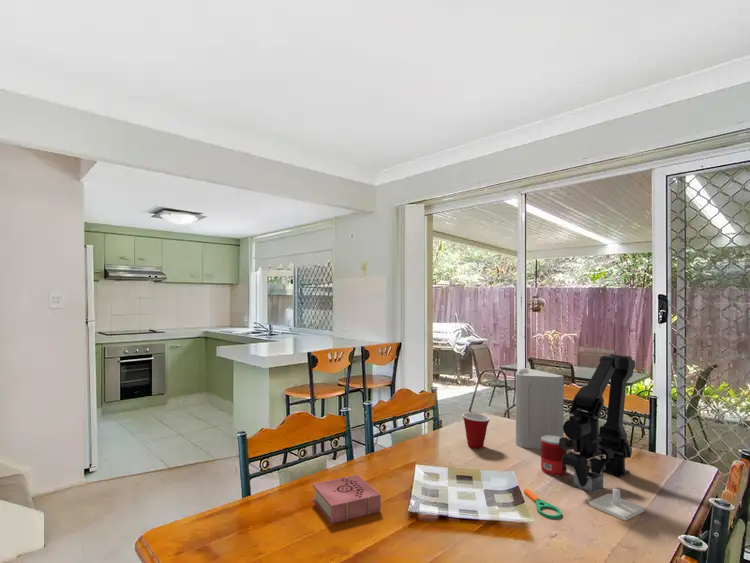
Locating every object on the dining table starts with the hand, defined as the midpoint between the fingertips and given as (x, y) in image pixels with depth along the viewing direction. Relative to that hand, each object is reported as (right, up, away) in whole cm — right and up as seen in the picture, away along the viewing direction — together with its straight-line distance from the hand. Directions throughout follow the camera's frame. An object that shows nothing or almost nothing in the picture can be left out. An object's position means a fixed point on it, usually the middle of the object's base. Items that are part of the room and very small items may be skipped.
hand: (588, 483), depth 136 cm
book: (-75, -1, -14) cm, 76 cm away
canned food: (-6, -2, +11) cm, 13 cm away
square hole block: (0, -1, 0) cm, 1 cm away
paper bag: (-4, -2, +39) cm, 39 cm away
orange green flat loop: (-20, -1, -12) cm, 23 cm away
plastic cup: (-27, -2, +35) cm, 44 cm away
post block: (+1, -1, -13) cm, 13 cm away
